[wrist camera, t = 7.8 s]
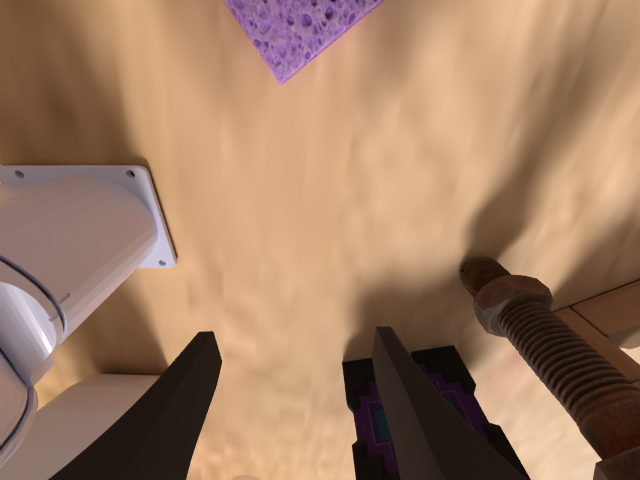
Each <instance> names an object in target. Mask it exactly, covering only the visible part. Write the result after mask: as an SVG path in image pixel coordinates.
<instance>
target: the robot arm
mask: <svg viewBox="0 0 640 480" xmlns="http://www.w3.org/2000/svg"><path fill="white" fill-rule="evenodd" d="M130 170H131V171H132V172H134V174H135V176H132V175H131V174H130ZM21 172H22V173H23V174H24V175H22V174H21ZM0 182H1V184H0V468H1V467H2V466H3V465H4V464H5V462H6V461H7V460H8V459H9V458H10V457H11V456H12V454H13V453H14V452H15V451H16V449H17V448H18V447H19V445H20V444H21V442H22V441H23V440H24V438H25V437H26V435H27V433H28V431H29V430H30V428H31V426H32V424H33V422H34V419H35V416H36V414H37V408H38V396H37V392H36V390H35V388H34V385H35V384H36V383H37V382H38V381H39V380H40V379H41V378H42V377H43V376H44V375H45V374H46V373H47V372H48V371H49V369H50V368H51V367H52V366H53V365H54V361H53V358H52V355H53V352H54V351H55V350H56V348H57V347H58V346H59V345H60V344H61V343H62V342H63V341H64V340H65V339H66V338H67V337H68V336H69V335H70V334H71V333H72V332H73V331H74V330H75V329H76V328H77V327H78V326H79V325H80V324H81V323H82V322H83V321H84V320H85V319H86V318H87V317H88V316H89V315H90V314H91V313H92V312H93V311H94V310H95V309H96V308H97V307H98V306H99V305H100V304H101V303H102V302H103V301H104V300H105V299H106V298H107V297H108V296H109V295H110V294H111V293H112V292H113V291H114V290H115V289H116V288H117V287H118V286H119V285H120V284H121V283H122V282H123V281H125V280H126V279H127V278H128V277H129V276H130V275H131V274H132V273H133V272H134V271H135V270H136V269H137V268H172V267H174V266H175V265H176V264H177V259H176V255H175V252H174V249H173V246H172V243H171V240H170V237H169V234H168V231H167V227H166V224H165V221H164V218H163V215H162V212H161V209H160V206H159V202H158V199H157V196H156V193H155V190H154V187H153V184H152V181H151V178H150V174H149V172H148V170H147V169H146V168H145V167H143V166H140V165H4V166H0ZM161 260H163V261H165V263H164V262H162V261H161ZM372 361H373V367H374V373H375V378H376V383H377V387H378V390H379V394H380V398H381V401H382V405H383V408H384V412H385V415H386V419H387V423H388V426H389V430H390V433H391V437H392V441H393V445H394V449H395V454H396V459H397V464H398V469H399V474H400V479H401V480H527V479H526V478H525V477H524V476H523V475H522V474H520V473H519V472H518V471H517V470H516V469H515V468H514V467H513V466H511V465H510V464H509V463H508V462H507V461H506V460H505V459H504V458H503V457H502V456H501V455H499V454H498V453H497V452H496V451H495V450H494V449H493V448H492V447H491V446H490V445H489V444H488V443H487V442H486V441H485V440H484V439H482V438H481V437H480V436H479V435H478V434H477V433H476V432H475V431H474V430H473V429H472V428H471V427H470V426H469V425H468V424H467V423H466V422H465V420H464V419H463V418H462V417H461V416H460V415H459V414H458V413H457V412H456V411H455V410H454V409H453V408H452V407H451V405H450V404H449V403H448V402H447V401H446V400H445V399H444V398H443V396H442V395H441V394H440V393H439V392H438V391H437V389H436V388H435V387H434V386H433V385H432V383H431V382H430V381H429V380H428V378H427V377H426V376H425V375H424V373H423V372H422V371H421V369H420V368H419V367H418V365H417V364H416V363H415V361H414V360H413V359H412V357H411V356H410V355H409V353H408V352H407V350H406V349H405V348H404V346H403V345H402V343H401V342H400V340H399V339H398V337H397V336H396V334H395V333H394V331H393V329H392V328H391V327H376V332H375V339H374V346H373V352H372ZM221 364H222V359H221V356H220V352H219V349H218V346H217V342H216V339H215V335H214V332H213V331H210V332H199V333H198V334H197V335H196V336H195V337H194V338H193V339H192V340H191V342H190V343H189V344H188V345H187V346H186V348H185V349H184V350H183V351H182V352H181V353H180V355H179V356H178V357H177V358H176V359H175V360H174V362H173V363H172V364H171V365H170V366H169V367H168V368H167V369H166V371H165V372H164V373H163V374H162V375H161V376H160V377H159V378H158V379H157V380H156V382H155V383H154V384H153V385H152V386H151V387H150V388H149V389H148V390H147V391H146V392H145V393H144V394H143V395H142V396H141V397H140V398H139V399H138V400H137V401H136V402H135V403H134V404H133V405H132V406H131V407H130V408H129V409H128V410H127V411H126V412H125V413H124V414H123V415H122V416H121V417H120V418H119V419H118V420H117V421H116V422H115V423H114V424H113V425H112V426H110V427H109V428H108V429H107V430H106V431H105V432H104V433H103V434H102V435H101V436H99V437H98V438H97V439H96V440H95V441H94V442H93V443H91V444H90V445H89V446H88V447H87V448H86V449H85V450H83V451H82V452H81V453H80V454H79V455H78V456H76V457H75V458H74V459H73V460H72V461H70V462H69V463H68V464H67V465H66V466H64V467H63V468H62V469H61V470H59V471H58V472H57V473H55V474H54V475H53V476H52V477H50V478H49V479H48V480H186V477H187V474H188V470H189V466H190V462H191V459H192V455H193V452H194V449H195V446H196V443H197V440H198V437H199V435H200V432H201V429H202V426H203V423H204V420H205V418H206V415H207V412H208V409H209V406H210V403H211V401H212V398H213V395H214V392H215V389H216V386H217V382H218V378H219V374H220V369H221Z"/></svg>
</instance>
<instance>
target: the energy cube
mask: <svg viewBox="0 0 640 480" xmlns="http://www.w3.org/2000/svg"><path fill="white" fill-rule="evenodd" d="M411 357H412V359H413V360H414V361H415V363H416V364H417V365H418V367H419V368H420V369H421V371H422V372H423V373H424V375H425V376H426V377H427V378H428V380H429V381H430V382H431V383H432V385H433V386H434V387H435V388H436V389H437V391H438V392H439V393H440V394H441V395H442V396H443V398H444V399H445V400H446V401H447V402H448V403H449V404H450V405H451V407H452V408H453V409H454V410H455V411H456V412H457V413H458V414H459V415H460V416H461V417H462V418H463V419H464V420H465V422H466V423H467V424H468V425H469V426H470V427H471V428H472V429H473V430H474V431H475V432H476V433H477V434H478V435H479V436H480V437H481V438H482V439H484V440H485V441H486V442H487V443H488V444H489V445H490V446H491V447H492V448H493V449H494V450H495V451H496V452H497V453H498V454H499V455H501V456H502V457H503V458H504V459H505V460H506V461H507V462H508V463H509V464H510V465H511V466H513V467H514V468H515V469H516V470H517V471H518V472H519V473H520V474H522V475H523V476H524V477H525V478H526V479H527V480H531V479H530V477H529V476H528V474H527V472H526V471H525V469H524V467H523V465H522V464H521V462H520V460H519V458H518V457H517V455H516V453H515V451H514V450H513V448H512V446H511V444H510V443H509V441H508V439H507V437H506V436H505V434H504V432H503V431H502V429H501V427H500V426H499V425H495V424H492V423H489V422H488V420H487V418H486V416H485V414H484V412H483V411H482V409H481V407H480V405H479V403H478V401H477V400H476V398H475V396H474V391H475V388H476V384H475V382H474V380H473V378H472V377H471V375H470V373H469V371H468V370H467V368H466V366H465V364H464V363H463V361H462V359H461V357H460V356H459V354H458V352H457V351H456V349H455V347H454V345H453V346H447V347H440V348H433V349H427V350H420V351H414V352H412V353H411ZM342 366H343V375H344V383H345V391H346V400H347V406H348V408H349V409H350V410H351V411H352V412H353V414H354V421H355V426H356V434H357V441H356V442H355V443H354V444H353V445H352V450H353V458H354V466H355V475H356V480H401V479H400V474H399V469H398V464H397V459H396V454H395V449H394V445H393V441H392V437H391V433H390V430H389V426H388V423H387V419H386V415H385V412H384V408H383V405H382V401H381V398H380V394H379V390H378V387H377V383H376V378H375V373H374V367H373V361H372V358H368V359H362V360H355V361H349V362H342Z"/></svg>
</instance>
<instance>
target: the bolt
mask: <svg viewBox="0 0 640 480" xmlns="http://www.w3.org/2000/svg"><path fill="white" fill-rule="evenodd" d="M463 270H464V271H465V272H463V271H460V279H461V280H462V282H463V284H464V286H465V287H466V288H467V289H468V291H469V292H470V293H471V294H472V296H473V297H474V298H475V299H474V302H473V305H474V310H475V313H476V316H477V318H478V321H479V323H480V324H481V325H482V327H483V328H484V329H485V331H486V332H487V333H489V334H493V335H496V336H500V337H506V338H507V339H508V340H509V341H510V342H511V343H512V345H513V346H514V347H515V348H516V350H517V351H519V354H520V355H521V356H522V357H523V359H524V360H525V361H526V362H527V364H528V365H529V366H530V367H531V369H532V370H533V371H534V372H535V374H536V375H537V376H538V377H539V378H540V380H541V381H542V382H543V383H544V384H545V386H546V387H547V388H548V389H549V390H550V392H551V393H552V394H553V395H554V396H555V398H556V399H557V400H558V401H560V403H561V405H562V406H563V407H565V410H566V411H567V412H568V413H569V414H570V416H571V417H572V419H573V420H574V421H575V422H576V424H577V426H578V427H579V429H580V432H581V434H582V435H583V436H584V437H585V439H586V440H587V441H588V442H589V444H590V445H591V446H592V448H593V449H594V450H595V451H596V453H597V454H598V455H599V456H600V458H601V459H602V461H600V462H597V463H596V465H595V471H594V477H593V480H640V389H639V388H638V387H637V386H636V385H633V383H632V381H631V380H629V379H628V378H626V377H625V376H624V375H623V374H622V373H621V372H619V370H618V369H617V368H616V367H614V366H612V364H611V363H610V362H609V361H608V360H607V359H605V358H604V357H603V356H602V355H601V354H599V352H598V351H597V350H596V349H594V348H593V347H592V346H591V345H590V344H589V343H587V342H586V340H585V339H583V338H581V336H580V335H579V334H577V333H576V332H575V330H573V329H571V327H570V326H569V325H567V324H566V323H565V322H564V321H563V320H561V318H560V317H559V316H557V315H556V314H555V313H554V312H552V311H553V308H554V303H553V298H552V295H551V292H550V289H549V288H548V287H546V286H545V285H544V284H543V283H541V282H540V281H539V280H538V279H536V278H532V277H528V276H522V275H511V274H510V273H509V272H508V271H506V269H504V268H503V267H502V266H501V265H500V264H499V263H498V262H496V261H495V260H493V259H492V258H487V257H485V258H477V259H472V260H470V261H468V262H467V263H466V264H465V265H464V268H463Z"/></svg>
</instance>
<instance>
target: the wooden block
mask: <svg viewBox="0 0 640 480" xmlns="http://www.w3.org/2000/svg"><path fill="white" fill-rule="evenodd" d="M554 313H555V314H556V315H557V316H559V317H560V318H561V320H563V321H564V322H565V323H566V324H567V325H569V326H570V327H571V329H573V330H575V332H576V333H577V334H579V335H580V336H581V338H583V339H585V340H586V342H587V343H589V344H590V345H591V346H592V347H593V348H594V349H596V350H597V351H598V352H599V354H601V355H602V356H603V357H604V358H605V359H607V360H608V361H609V362H610V363H611V364H612V366H614V367H616V368H617V369H618V370H619V372H621V373H622V374H623V375H624V376H625V377H626V378H628V379H629V380H631V381H632V383H633V385H636V386H637V387H638V388H639V389H640V365H639V364H638V363H637V362H636V361H634V360H633V359H632V358H631V357H630V356H628V355H627V354H626V353H625V352H623V351H622V350H621V349H620V348H625V349H633V348H636V347H639V346H640V280H639V281H636V282H633V283H631V284H628V285H625V286H623V287H620V288H618V289H615V290H612V291H610V292H607V293H604V294H602V295H599V296H596V297H594V298H591V299H588V300H586V301H583V302H581V303H578V304H575V305H573V306H572V307H571V308H569V307H567V308H563V309H561V310H558V311H555V312H554Z"/></svg>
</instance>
